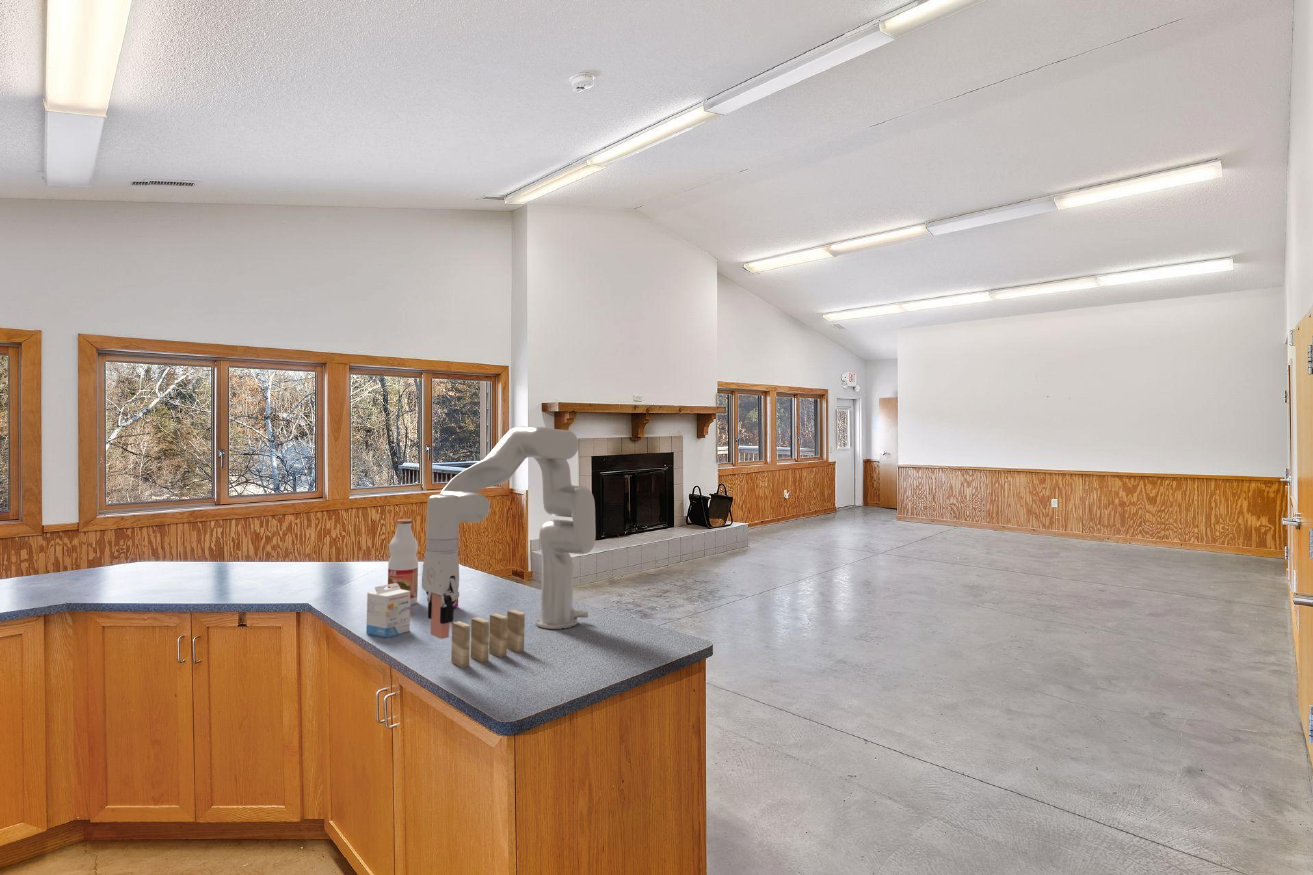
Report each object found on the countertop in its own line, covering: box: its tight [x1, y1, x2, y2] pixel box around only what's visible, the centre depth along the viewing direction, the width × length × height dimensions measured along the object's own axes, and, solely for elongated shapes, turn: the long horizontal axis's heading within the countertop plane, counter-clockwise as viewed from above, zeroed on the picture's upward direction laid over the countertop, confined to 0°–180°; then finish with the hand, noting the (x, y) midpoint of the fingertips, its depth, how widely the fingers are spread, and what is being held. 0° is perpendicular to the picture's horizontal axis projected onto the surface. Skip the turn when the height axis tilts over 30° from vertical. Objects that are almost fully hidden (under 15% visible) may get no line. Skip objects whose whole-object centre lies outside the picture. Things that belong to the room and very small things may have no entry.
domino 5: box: [506, 609, 526, 653], centre depth 180 cm, size 2×5×10 cm, turn 47°
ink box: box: [365, 583, 411, 639], centre depth 193 cm, size 9×8×13 cm
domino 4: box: [488, 613, 508, 658], centre depth 176 cm, size 2×5×10 cm, turn 47°
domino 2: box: [450, 620, 471, 668], centre depth 168 cm, size 2×5×10 cm, turn 47°
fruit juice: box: [387, 518, 419, 606], centre depth 225 cm, size 9×9×28 cm
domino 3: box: [470, 616, 490, 663], centre depth 172 cm, size 2×5×10 cm, turn 47°
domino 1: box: [430, 593, 450, 640], centre depth 164 cm, size 2×5×10 cm, turn 47°
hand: (440, 619), depth 164 cm, fingers closed on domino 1, 4 cm apart
